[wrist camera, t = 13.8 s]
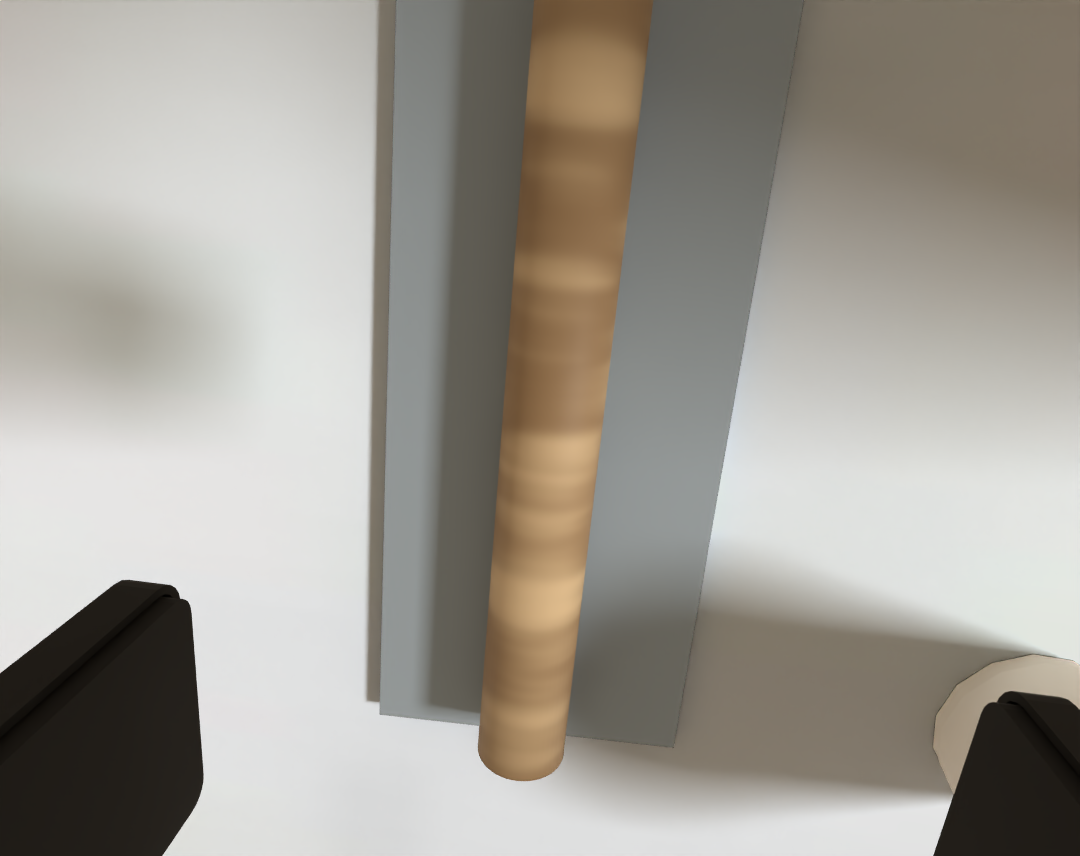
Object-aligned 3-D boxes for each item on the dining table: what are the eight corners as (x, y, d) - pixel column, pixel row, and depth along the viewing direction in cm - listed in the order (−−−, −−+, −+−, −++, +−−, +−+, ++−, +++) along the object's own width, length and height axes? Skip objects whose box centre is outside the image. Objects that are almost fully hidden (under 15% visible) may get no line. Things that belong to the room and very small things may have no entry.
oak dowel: (547, -22, 19) (527, -62, 17) (658, -16, 19) (656, -57, 16) (489, 711, 27) (468, 771, 24) (568, 726, 26) (556, 789, 23)
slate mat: (801, -17, 19) (808, -23, 19) (671, 736, 27) (673, 747, 26) (402, -49, 20) (397, -57, 19) (384, 703, 27) (379, 714, 27)
